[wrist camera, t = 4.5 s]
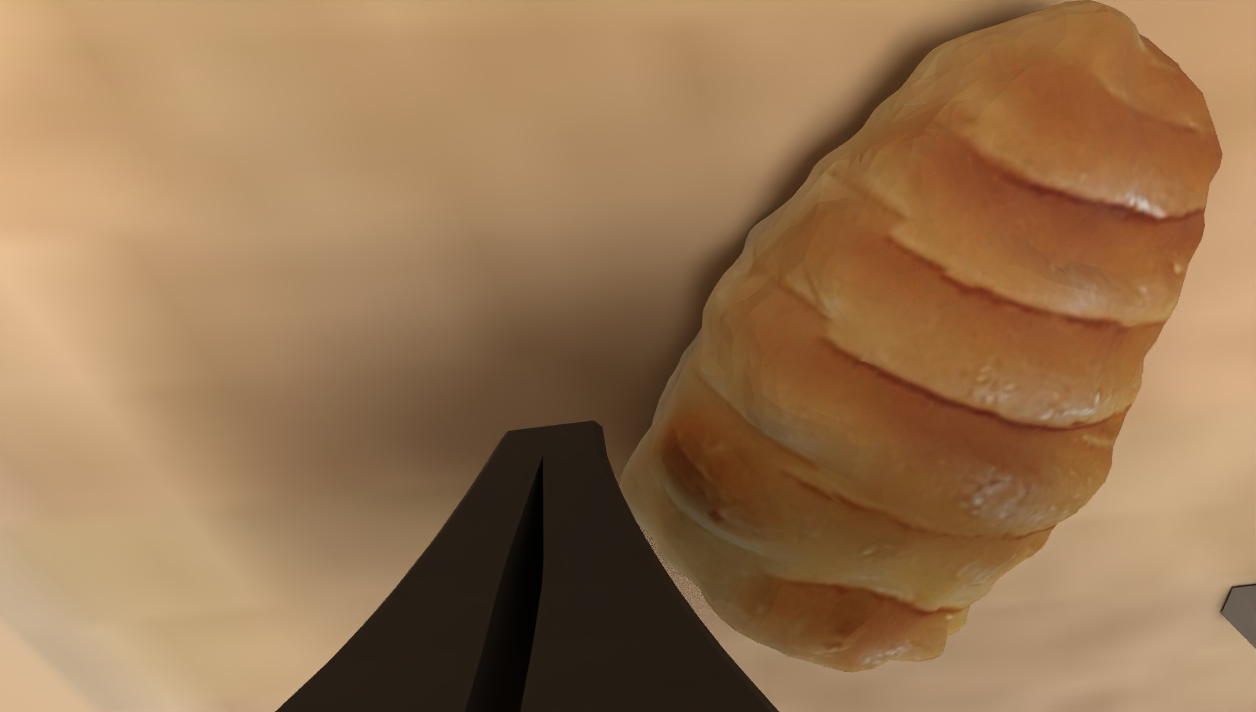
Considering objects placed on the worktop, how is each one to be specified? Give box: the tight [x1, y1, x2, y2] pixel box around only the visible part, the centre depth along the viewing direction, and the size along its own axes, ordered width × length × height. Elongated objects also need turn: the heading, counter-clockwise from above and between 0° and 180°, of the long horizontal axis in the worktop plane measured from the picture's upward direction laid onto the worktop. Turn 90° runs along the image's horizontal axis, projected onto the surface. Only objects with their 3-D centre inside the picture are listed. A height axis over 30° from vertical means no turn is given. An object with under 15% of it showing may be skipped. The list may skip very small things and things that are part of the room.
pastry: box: [621, 0, 1222, 672], centre depth 10 cm, size 9×7×4 cm
